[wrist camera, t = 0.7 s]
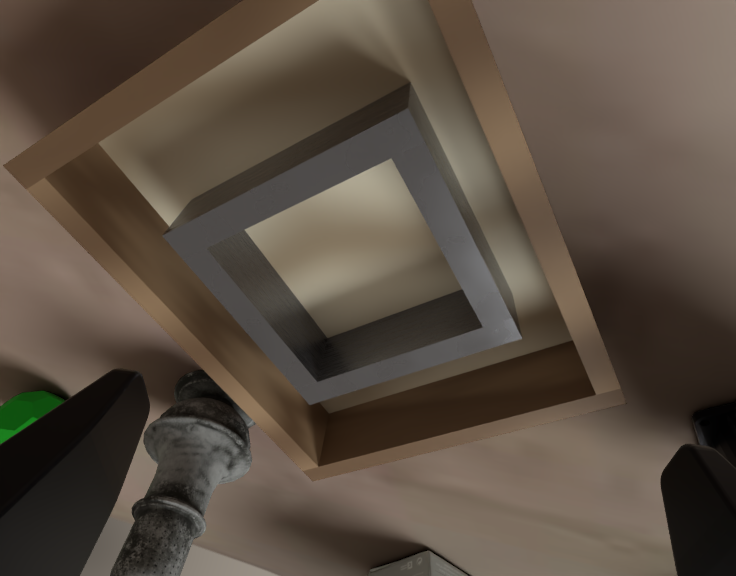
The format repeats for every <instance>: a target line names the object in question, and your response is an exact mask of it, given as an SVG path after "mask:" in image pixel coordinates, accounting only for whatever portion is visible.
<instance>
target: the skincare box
mask: <svg viewBox="0 0 736 576" xmlns="http://www.w3.org/2000/svg"><path fill="white" fill-rule="evenodd" d="M368 576H468V575H467V574H465V573H464V572H462V571H460V570H459V569H457V568H456V567H454V566H453V565H451V564H449V563H448V562H446V561H445V560H443V559H441V558H440V557H438V556H437V555H435V554H434V553H432V552H431V551H425V552H421V553H418V554H415V555H413V556H410V557H408V558H405V559H403V560H400V561H397V562H394V563H390V564H387V565H384V566H381V567H377V568H373V569H370V572H369V574H368Z"/></svg>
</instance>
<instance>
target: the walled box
mask: <svg viewBox="0 0 736 576" xmlns="http://www.w3.org/2000/svg"><path fill="white" fill-rule="evenodd" d="M409 82H411V83H412V85H413V87H414V89H415V92H416V94H417V96H418V98H419V100H420V102H421V104H422V106H423V108H424V110H425V112H426V114H427V117H428V119H429V121H430V123H431V125H432V127H433V129H434V131H435V133H436V135H437V137H438V139H439V142H440V144H441V146H442V148H443V150H444V152H445V154H446V156H447V158H448V160H449V162H450V164H451V167H452V169H453V171H454V173H455V175H456V177H457V179H458V181H459V183H460V185H461V187H462V190H463V192H464V194H465V196H466V198H467V200H468V202H469V204H470V206H471V208H472V210H473V212H474V215H475V217H476V219H477V221H478V223H479V225H480V227H481V229H482V231H483V233H484V235H485V237H486V240H487V242H488V244H489V246H490V248H491V250H492V252H493V254H494V256H495V258H496V260H497V262H498V265H499V267H500V269H501V271H502V273H503V275H504V277H505V279H506V281H507V283H508V285H509V287H510V290H511V292H512V294H513V298H514V303H515V307H516V312H517V316H518V321H519V326H520V330H521V335H522V339H519V340H516V341H513V342H510V343H507V344H503V345H500V346H497V347H494V348H491V349H487V350H484V351H481V352H478V353H475V354H471V355H468V356H465V357H462V358H459V359H455V360H452V361H449V362H446V363H443V364H439V365H436V366H433V367H430V368H427V369H423V370H420V371H417V372H414V373H411V374H407V375H404V376H401V377H398V378H395V379H391V380H388V381H385V382H382V383H379V384H375V385H372V386H369V387H366V388H363V389H359V390H356V391H353V392H350V393H347V394H343V395H340V396H337V397H334V398H331V399H328V400H324V401H321V402H318V403H315V404H312V405H309V404H308V403H307V401H306V400H305V399H304V398H303V397H302V396H301V395H300V393H299V392H298V391H297V390H296V389H295V388H294V387H293V385H292V384H291V383H290V382H289V381H288V380H287V379H286V377H285V376H284V375H283V374H282V373H281V372H280V371H279V369H278V368H277V367H276V366H275V365H274V364H273V362H272V361H271V360H270V359H269V358H268V357H267V356H266V354H265V353H264V352H263V351H262V350H261V349H260V348H259V346H258V345H257V344H256V343H255V342H254V341H253V340H252V338H251V337H250V336H249V335H248V334H247V333H246V332H245V330H244V329H243V328H242V327H241V326H240V325H239V323H238V322H237V321H236V320H235V319H234V318H233V317H232V315H231V314H230V313H229V312H228V311H227V310H226V309H225V307H224V306H223V305H222V304H221V303H220V302H219V301H218V299H217V298H216V297H215V296H214V295H213V294H212V293H211V291H210V290H209V289H208V288H207V287H206V286H205V284H204V283H203V282H202V281H201V280H200V279H199V278H198V276H197V275H196V274H195V273H194V272H193V271H192V270H191V268H190V267H189V266H188V265H187V264H186V263H185V262H184V260H183V259H182V258H181V257H180V256H179V255H178V254H177V252H176V251H175V250H174V249H173V248H172V247H171V245H170V244H169V243H168V242H167V241H166V240H165V239H164V237H163V236H162V235H163V234H164V233H165V231H166V230H167V229H168V228H169V226H170V225H171V224H172V223H173V222H174V220H175V219H176V218H177V217H178V215H179V214H180V213H181V212H182V210H183V209H184V208H185V207H186V206H187V204H188V203H189V202H190V201H191V200H192V199H193V198H195V197H197V196H199V195H201V194H203V193H205V192H206V191H208V190H210V189H212V188H214V187H216V186H218V185H219V184H221V183H223V182H225V181H227V180H229V179H231V178H232V177H234V176H236V175H238V174H240V173H242V172H244V171H245V170H247V169H249V168H251V167H253V166H255V165H257V164H258V163H260V162H262V161H264V160H266V159H268V158H270V157H272V156H273V155H275V154H277V153H279V152H281V151H283V150H285V149H286V148H288V147H290V146H292V145H294V144H296V143H298V142H299V141H301V140H303V139H305V138H307V137H309V136H311V135H312V134H314V133H316V132H318V131H320V130H322V129H324V128H325V127H327V126H329V125H331V124H333V123H335V122H337V121H338V120H340V119H342V118H344V117H346V116H348V115H350V114H351V113H353V112H355V111H357V110H359V109H361V108H363V107H364V106H366V105H368V104H370V103H372V102H374V101H376V100H377V99H379V98H381V97H383V96H385V95H387V94H389V93H390V92H392V91H394V90H396V89H398V88H400V87H402V86H404V85H405V84H407V83H409ZM3 166H4V167H5V168H6V169H7V170H8V171H9V172H10V173H11V174H12V175H13V176H14V177H15V178H16V179H17V181H18V182H19V183H20V184H21V185H22V186H23V187H24V188H25V189H26V190H27V191H28V192H29V193H30V194H31V195H32V196H33V197H34V198H35V199H36V200H37V201H38V202H39V203H40V204H41V205H42V206H43V207H44V208H45V209H46V210H47V211H48V212H49V213H50V214H51V215H52V216H53V217H54V218H55V219H56V220H57V221H58V222H59V223H60V224H61V225H62V226H63V227H64V228H65V229H66V230H67V231H68V232H69V233H70V234H71V236H72V237H73V238H74V239H75V240H76V241H77V242H78V243H79V244H80V245H81V246H82V247H83V248H84V249H85V250H86V251H87V252H88V253H89V254H90V255H91V256H92V257H93V258H94V259H95V260H96V261H97V262H98V263H99V264H100V265H101V266H102V267H103V268H104V269H105V270H106V271H107V272H108V273H109V274H110V275H111V276H112V277H113V278H114V279H115V280H116V281H117V282H118V283H119V284H120V285H121V286H122V287H123V288H124V290H125V291H126V292H127V293H128V294H129V295H130V296H131V297H132V298H133V299H134V300H135V301H136V302H137V303H138V304H139V305H140V306H141V307H142V308H143V309H144V310H145V311H146V312H147V313H148V314H149V315H150V316H151V317H152V318H153V319H154V320H155V321H156V322H157V323H158V324H159V325H160V326H161V327H162V328H163V329H164V330H165V331H166V332H167V333H168V334H169V335H170V336H171V337H172V338H173V339H174V340H175V341H176V342H177V344H178V345H179V346H180V347H181V348H182V349H183V350H184V351H185V352H186V353H187V354H188V355H189V356H190V357H191V358H192V359H193V360H194V361H195V362H196V363H197V364H198V365H199V366H200V367H201V368H202V369H203V370H204V371H205V372H206V373H207V374H208V375H209V376H210V377H211V378H212V379H213V380H214V381H215V382H216V383H217V384H218V385H219V386H220V387H221V388H222V389H223V390H224V391H225V392H226V393H227V394H228V395H229V396H230V398H231V399H232V400H233V401H234V402H235V403H236V404H237V405H238V406H239V407H240V408H241V409H242V410H243V411H244V412H245V413H246V414H247V415H248V416H249V417H250V418H251V419H252V420H253V421H254V422H255V423H256V424H257V425H258V426H259V427H260V428H261V429H262V430H263V431H264V432H265V433H266V434H267V435H268V436H269V437H270V438H271V439H272V440H273V441H274V442H275V443H276V444H277V445H278V446H279V447H280V448H281V449H282V450H283V452H284V453H285V454H286V455H287V456H288V457H289V458H290V459H291V460H292V461H293V462H294V463H295V464H296V465H297V466H298V467H299V468H300V469H301V470H302V471H303V472H304V473H305V474H306V475H307V476H308V477H309V478H310V479H311V480H312V481H316V480H320V479H324V478H328V477H332V476H337V475H341V474H345V473H349V472H353V471H357V470H361V469H365V468H369V467H373V466H377V465H381V464H385V463H389V462H393V461H397V460H401V459H405V458H409V457H413V456H417V455H421V454H425V453H429V452H433V451H437V450H441V449H445V448H449V447H453V446H457V445H461V444H465V443H469V442H473V441H477V440H482V439H486V438H490V437H494V436H498V435H502V434H506V433H510V432H514V431H518V430H522V429H526V428H530V427H534V426H538V425H542V424H546V423H550V422H554V421H558V420H562V419H566V418H570V417H574V416H578V415H582V414H586V413H590V412H594V411H598V410H602V409H606V408H610V407H614V406H618V405H623V404H627V403H626V400H625V397H624V395H623V392H622V390H621V387H620V384H619V382H618V379H617V377H616V374H615V371H614V369H613V366H612V364H611V361H610V358H609V356H608V353H607V351H606V348H605V345H604V343H603V340H602V338H601V335H600V333H599V330H598V327H597V325H596V322H595V320H594V317H593V314H592V312H591V309H590V307H589V304H588V301H587V299H586V296H585V294H584V291H583V288H582V286H581V283H580V281H579V278H578V275H577V273H576V270H575V268H574V265H573V262H572V260H571V257H570V255H569V252H568V249H567V247H566V244H565V242H564V239H563V237H562V234H561V231H560V229H559V226H558V224H557V221H556V218H555V216H554V213H553V211H552V208H551V205H550V203H549V200H548V198H547V195H546V192H545V190H544V187H543V185H542V182H541V179H540V177H539V174H538V172H537V169H536V166H535V164H534V161H533V159H532V156H531V154H530V151H529V148H528V146H527V143H526V141H525V138H524V135H523V133H522V130H521V128H520V125H519V122H518V120H517V117H516V115H515V112H514V109H513V107H512V104H511V102H510V99H509V96H508V94H507V91H506V89H505V86H504V83H503V81H502V78H501V76H500V73H499V71H498V68H497V65H496V63H495V60H494V58H493V55H492V52H491V50H490V47H489V45H488V42H487V39H486V37H485V34H484V32H483V29H482V26H481V24H480V21H479V19H478V16H477V13H476V11H475V8H474V6H473V3H472V0H242V1H241V2H239V3H238V4H237V5H235V6H234V7H232V8H231V9H229V10H228V11H226V12H225V13H223V14H222V15H221V16H219V17H218V18H216V19H215V20H213V21H212V22H210V23H209V24H208V25H206V26H205V27H203V28H202V29H200V30H199V31H197V32H196V33H195V34H193V35H192V36H190V37H189V38H187V39H186V40H184V41H183V42H181V43H180V44H179V45H177V46H176V47H174V48H173V49H171V50H170V51H168V52H167V53H166V54H164V55H163V56H161V57H160V58H158V59H157V60H155V61H154V62H152V63H151V64H150V65H148V66H147V67H145V68H144V69H142V70H141V71H139V72H138V73H137V74H135V75H134V76H132V77H131V78H129V79H128V80H126V81H125V82H123V83H122V84H121V85H119V86H118V87H116V88H115V89H113V90H112V91H110V92H109V93H108V94H106V95H105V96H103V97H102V98H100V99H99V100H97V101H96V102H95V103H93V104H92V105H90V106H89V107H87V108H86V109H84V110H83V111H81V112H80V113H79V114H77V115H76V116H74V117H73V118H71V119H70V120H68V121H67V122H66V123H64V124H63V125H61V126H60V127H58V128H57V129H55V130H54V131H52V132H51V133H50V134H48V135H47V136H45V137H44V138H42V139H41V140H39V141H38V142H37V143H35V144H34V145H32V146H31V147H29V148H28V149H26V150H25V151H24V152H22V153H21V154H19V155H18V156H16V157H15V158H13V159H12V160H10V161H9V162H8V163H6V164H5V165H3ZM245 231H246V232H247V234H248V235H249V236H250V238H251V239H252V240H253V241H254V243H255V244H256V245H257V247H258V248H259V249H260V251H261V252H262V253H263V254H264V256H265V257H266V258H267V260H268V261H269V262H270V264H271V265H272V266H273V268H274V269H275V270H276V271H277V273H278V274H279V275H280V277H281V278H282V279H283V281H284V282H285V283H286V285H287V286H288V287H289V288H290V290H291V291H292V292H293V294H294V295H295V296H296V298H297V299H298V300H299V301H300V303H301V304H302V305H303V307H304V308H305V309H306V311H307V312H308V313H309V315H310V316H311V317H312V318H313V320H314V321H315V322H316V324H317V325H318V326H319V328H320V329H321V330H322V332H323V333H324V334H325V335H326V337H327V338H329V337H332V336H335V335H337V334H340V333H343V332H346V331H348V330H351V329H354V328H357V327H359V326H362V325H365V324H368V323H371V322H373V321H376V320H379V319H382V318H384V317H387V316H390V315H393V314H395V313H398V312H401V311H404V310H406V309H409V308H412V307H415V306H417V305H420V304H423V303H426V302H428V301H431V300H434V299H437V298H439V297H442V296H445V295H448V294H450V293H453V292H456V291H459V290H461V289H462V287H461V286H460V284H459V282H458V280H457V278H456V276H455V275H454V273H453V271H452V269H451V267H450V265H449V263H448V262H447V260H446V258H445V256H444V254H443V252H442V251H441V249H440V247H439V245H438V243H437V241H436V240H435V238H434V236H433V234H432V232H431V230H430V228H429V227H428V225H427V223H426V221H425V219H424V217H423V216H422V214H421V212H420V210H419V208H418V206H417V204H416V203H415V201H414V199H413V197H412V195H411V193H410V192H409V190H408V188H407V186H406V184H405V182H404V180H403V179H402V177H401V175H400V173H399V171H398V169H397V168H396V166H395V164H394V162H393V160H392V158H391V159H389V160H387V161H385V162H383V163H381V164H379V165H377V166H374V167H372V168H370V169H368V170H366V171H364V172H362V173H360V174H358V175H356V176H354V177H352V178H350V179H348V180H346V181H344V182H342V183H340V184H337V185H335V186H333V187H331V188H329V189H327V190H325V191H323V192H321V193H319V194H317V195H315V196H313V197H311V198H309V199H307V200H305V201H302V202H300V203H298V204H296V205H294V206H292V207H290V208H288V209H286V210H284V211H282V212H280V213H278V214H276V215H274V216H272V217H270V218H267V219H265V220H263V221H261V222H259V223H257V224H255V225H253V226H251V227H249V228H247V229H245Z"/></svg>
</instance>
